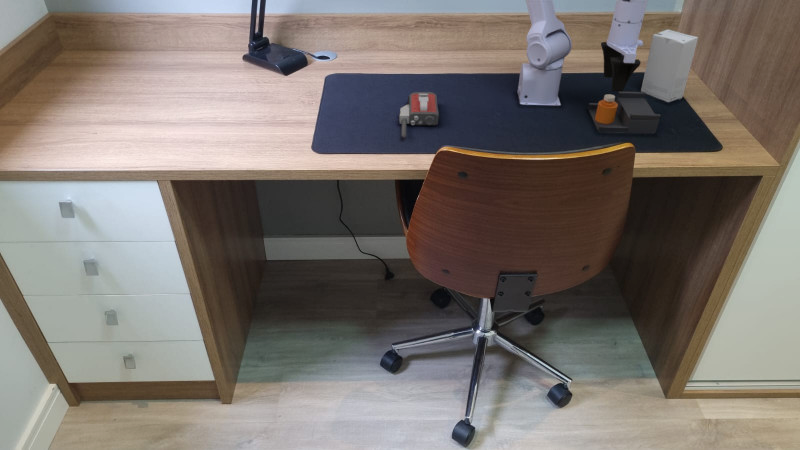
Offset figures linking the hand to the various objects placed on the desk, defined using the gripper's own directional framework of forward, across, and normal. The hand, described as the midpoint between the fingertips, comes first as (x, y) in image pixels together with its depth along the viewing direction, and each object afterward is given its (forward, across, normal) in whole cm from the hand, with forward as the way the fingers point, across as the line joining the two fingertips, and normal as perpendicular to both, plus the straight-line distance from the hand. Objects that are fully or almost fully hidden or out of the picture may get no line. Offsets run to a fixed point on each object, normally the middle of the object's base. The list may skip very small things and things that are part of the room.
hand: (612, 83), depth 121 cm
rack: (+9, 0, -4) cm, 10 cm away
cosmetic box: (+9, +15, -16) cm, 24 cm away
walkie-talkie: (+9, -2, +42) cm, 43 cm away
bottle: (+8, 0, 0) cm, 8 cm away
